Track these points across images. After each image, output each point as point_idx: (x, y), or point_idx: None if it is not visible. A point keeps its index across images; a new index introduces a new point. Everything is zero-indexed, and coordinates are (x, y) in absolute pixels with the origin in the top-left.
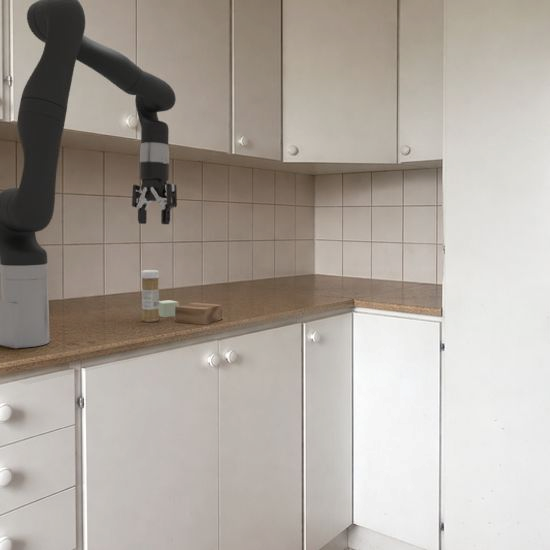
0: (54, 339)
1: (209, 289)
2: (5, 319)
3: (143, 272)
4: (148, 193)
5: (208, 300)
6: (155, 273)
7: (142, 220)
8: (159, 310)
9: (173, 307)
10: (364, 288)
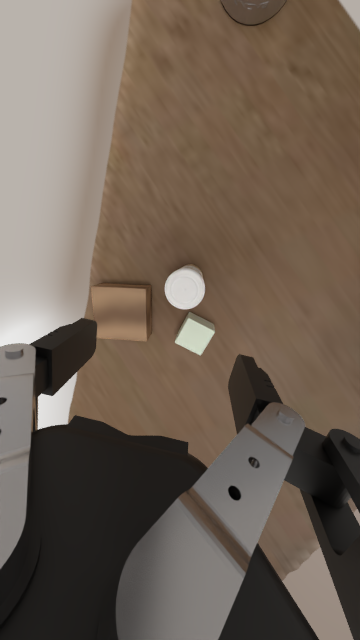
0: (235, 44)
1: (261, 539)
2: None
3: (189, 269)
4: (150, 521)
5: (210, 458)
6: (165, 283)
7: (237, 373)
8: (199, 319)
9: (180, 330)
10: None
